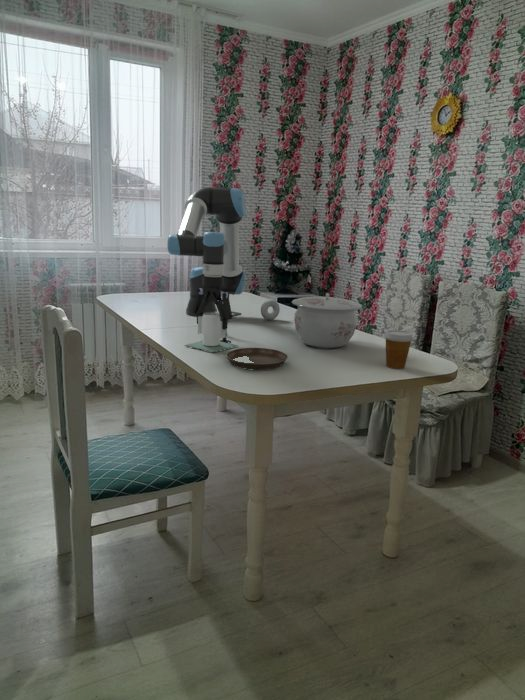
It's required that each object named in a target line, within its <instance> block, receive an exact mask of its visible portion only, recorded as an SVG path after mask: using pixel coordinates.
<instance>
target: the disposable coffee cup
mask: <svg viewBox="0 0 525 700" xmlns="http://www.w3.org/2000/svg"><path fill="white" fill-rule="evenodd" d="M384 338H385V366H386V367H387V368H390V369H393V370H395V369H396V370H403V369H405V367H406V363H407V360H408V355H409V351H410V347H411V344H412V341H413V339H414V337H413V333H411V332H410V331H406V330H400V329H399V330H398V329H392V330H389V329H388V330H387V331H385V334H384Z"/></svg>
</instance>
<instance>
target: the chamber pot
mask: <svg viewBox="0 0 525 700" xmlns="http://www.w3.org/2000/svg"><path fill="white" fill-rule="evenodd" d="M291 303H292V304H293V305H294V306H297V310H296V311H295V313H294V316H293V317H294V319H293V321H294V325H295V326H294V328H295V332H296V333H297V335H298V336H299V338H300V340H301V341H302V343H304V344H305V345H307V346H309V347H313V348H317V349H323V350H324V349H325V350H326V349H329V350H330V349H337V348H341V347H344V346H345V345H347V344H348V342H349V341H350V340H351V339H352V337H353V336H354V334H355V331H356V329H357V324H358V315H357V314H356V311H357V310H360V309H361V308H362V307H363V305H362V304H360V303H358V302H357V301H354V300H350V299H346V298H341V297H332V296H330V293H329V292H326V293H325V296H305V297H298V298H295V299H293V300H292V301H291Z"/></svg>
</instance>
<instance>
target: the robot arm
mask: <svg viewBox="0 0 525 700" xmlns="http://www.w3.org/2000/svg"><path fill="white" fill-rule="evenodd" d="M205 216H215V220H216V221H217V223H219V232H217V231H206V232H204V233H203V235H198V233H199V230H200V227H201V224H202V220H203V218H204V217H205ZM244 217H246V199H245V194H244V191H243V190H242V189H241V188H234V187H231V188H230V187H211V186H207V187H203V188H202V187H201V188H199V189H198V190H195V191H194V192H193V193H191V194H190V195H189V196H188V198H187V200H186V201H185V204H184V213H183V216H182V220H181V222H180V225H179V227H178V230H177V233H175V234H169V235H168V238H167V252H168V254H170V255H173V256H178V257H179V256H183V257H185V256H188V257H189V256H190V257H202V266H198V267H193V268H192V269H191V270H190V274H189V275H190V276H189V284H190V285H189V300H188V303H187V306H186V308H185V314H186V315H187V316H192V317H196V324H197V334H198V335H200V334H203V332H202V317H203V313H205V312H217V313H218V315H219V314H220V316H221V319H222V320H221V321H220V335H219V338H220V339H222V338H225V337H226V329H227V330H228V322H229V320H232V319H233V317H232V315H233V314H232V313H231V311H232V309H231V303H230V302H231V301H230V295H232V296H234V295H241V294H243V291H244V284H245V278H246V271H245V270H243V267H242V266H241V265H240V231H239V229H240V228H239V227H240V222H241V221H242V220H243V218H244Z"/></svg>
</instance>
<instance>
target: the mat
mask: <svg viewBox="0 0 525 700" xmlns="http://www.w3.org/2000/svg"><path fill="white" fill-rule="evenodd" d="M185 346H187V347H186V348H189V347H192V348H191V349H193V348H196V349H195V350H197V349H201V350H206V351H211V352H216V351H220V350H224V349H228V348H231V347H235V346H237V347H238V344H233V343H225V342H220V344H219V345H218V346H213V347H209V346H204V345H203V340H199V341H196V342H192V343H188V344H184V347H185ZM235 348H236V347H235ZM231 349H232V348H231ZM201 350H200V351H201ZM228 350H229V349H228ZM206 351H205V352H206ZM224 351H225V350H224ZM220 352H221V351H220Z"/></svg>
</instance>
